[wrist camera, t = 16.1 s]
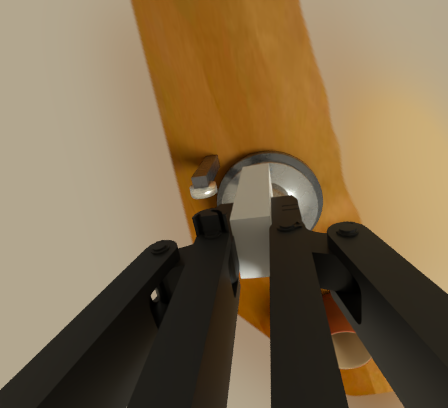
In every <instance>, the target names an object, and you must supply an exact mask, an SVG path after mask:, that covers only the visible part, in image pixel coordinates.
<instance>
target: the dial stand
mask: <svg viewBox="0 0 448 408" xmlns="http://www.w3.org/2000/svg"><path fill="white" fill-rule="evenodd" d="M219 168H220V165H219V160H218V155H214V156H207V157H205V158H204V160H203V161H202V163H201V164H200V166H199V167H198V169H197V170H196V171H195V173H194V174H193V176H192V177H191V179H192V183H193V185H191V186H190V192H191V196H192V198H194V199H203V198H208V197H211V196H213V195H215V194H216V193H217V186H216V182H215V181H214V178H215V176H216V174H217V172H218V170H219Z"/></svg>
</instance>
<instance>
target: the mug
mask: <svg viewBox="0 0 448 408" xmlns="http://www.w3.org/2000/svg"><path fill="white" fill-rule="evenodd" d="M322 298H323V302H324V306H325V310H326V315H327V319H328V323H329V327H330V331H331V336H332V340H333V344H334V348H335V352H336V357H337V361H338V365H339V369H353V368H358V367H361V366H363V365H365V364H366V363H368V362H369V361H370V360H371V359H372V357H371V355H370V354H369V352H368V351H367V349H366V348H365V346H364V345H363V343H362V342H361V340H360V339H359V337H358V336H357V334H356V333H355V331H354V330H353V328H352V326H351V325H350V323H349V322H348V320H347V319H346V317H345V316H344V314H343V313H342V311H341V310H340V308H339V307H338V305H337V304H336V302H335V301H334V299H333V298H332V296H331V293H328V294H325V295H323V296H322Z"/></svg>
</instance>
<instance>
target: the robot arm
mask: <svg viewBox="0 0 448 408" xmlns="http://www.w3.org/2000/svg"><path fill="white" fill-rule="evenodd" d="M192 219H193V223H194V227H195V231H196V235H197V237H196V239H195V242H194V244H192V245H189V246H186V247H182V248H179V249H178V247H177V243H175V242H174V241H172V240H161V241H158V242H156V243H154V244H152V245H150V246H149V247H148V248H146V249H145V250H144V251H143V252H142V253H141V254H140V255H139V256H138V257H137V258H136V259H135V260H134V261H133V262H132V263H131V264H130V265H129V266H128V267H127V268H126V269H125V270H123V271H122V273H120V274H119V275H118V276H117V277H116V278H115V279H114V280H113V281H112V282H111V283H110V284H109V285H108V286H107V287H106V288H105V289H104V290H103V291H102V292H101V293H100V294H99V295H98V296H97V297H96V298H95V299H94V300H93V301H92V302H91V303H90V304H89V305H88V306H86V307H85V309H83V310H82V311H81V312H80V313H79V314H78V315H77V316H76V317H75V318H74V319H73V320H72V321H71V322H70V323H69V324H68V325H67V326H66V327H65V328H64V329H63V330H62V331H61V332H60V333H59V334H58V335H57V336H56V337H55V338H53V339H52V340H51V341H50V342H49V343H48V344H47V345H46V346H45V347H44V348H43V349H42V350H41V351H40V352H39V353H38V354H37V355H36V356H35V357H34V358H33V359H32V360H31V361H30V362H29V363H28V364H27V365H26V366H25V367H24V368H23V369H22V370H21V371H19V373H17V375H15V376H14V377H13V379H11V380H10V381H9V382H8V383H7V384H6V385H5V386H4V387H3V388H2V389H1V390H0V408H126V407H127V408H226V407H227V399H228V390H229V382H230V373H231V364H232V356H233V347H234V338H235V329H236V321H237V312H238V304H239V295H240V282H239V277H238V276H239V270H240V275H241V279H243V278H258V277H270V343H271V344H270V346H271V347H270V348H271V349H270V350H271V408H349V407H348V403H347V399H346V394H345V390H344V386H343V382H342V378H341V373H340V369H339V365H338V361H337V357H336V352H335V348H334V344H333V340H332V336H331V331H330V327H329V323H328V319H327V315H326V310H325V306H324V302H323V298H322V294H321V289H327V290H330V293H331V296H332V298H333V299H334V301H335V302H336V304H337V305H338V307H339V308H340V310H341V311H342V313H343V314H344V316H345V317H346V319H347V320H348V322H349V323H350V325H351V326H352V328H353V330H354V331H355V333H356V334H357V336H358V337H359V339H360V340H361V342H362V343H363V345H364V346H365V348H366V349H367V351H368V352H369V354H370V355H371V357H372V358H373V360H374V361H375V363H376V365H377V366H378V368H379V369H380V371H381V372H382V374H383V375H384V377H385V378H386V380H387V381H388V383H389V384H390V386H391V387H392V389H393V390H394V392H395V393H396V395H397V396H398V398H399V400H400V401H401V402H402V404H403V406H404V407H405V408H448V294H447V293H446V292H444V291H443V290H442V289H441V288H440V287H438V286H437V285H436V284H435V283H434V282H432V281H431V280H430V279H429V278H427V277H426V276H425V275H424V274H422V273H421V272H420V271H419V270H418V269H416V268H415V267H414V266H413V265H412V264H411V263H409V262H408V261H407V260H406V259H405V258H403V257H402V256H401V255H400V254H398V253H397V252H396V251H395V250H394V249H392V248H391V247H390V246H389V245H388V244H386V243H385V242H384V241H383V240H381V239H380V238H379V237H378V236H377V235H375V234H374V233H373V232H372V231H371V230H369V229H368V228H367V227H365V226H364V225H362V224H359V223H355V222H340V223H336V224H333V225H331V226H330V227H329V228H328V230H327V233H319V232H314V231H311V230H309V229H307V228H306V226H305V224H304V223H303V221H302V217H301V213H300V209H299V205H298V200H297V198H295V197H294V196H293V195H287V196H278V197H273V193H272V185H271V177H270V170H269V163H266V164H259V165H252V166H245V167H242V171H241V175H240V179H239V184H238V188H237V192H236V196H235V200H234V203H225V204H220V205H218V206H217V207H216V208H211V209H206V210H203V211H200V212H198V213H197V214H195V215H194V216H193V217H192ZM320 288H321V289H320ZM154 290H156V293H157V297H156V298H155V299H154V300H152V298H151V294H152V292H153V291H154ZM127 405H128V406H127Z"/></svg>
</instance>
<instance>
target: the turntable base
mask: <svg viewBox="0 0 448 408" xmlns="http://www.w3.org/2000/svg"><path fill="white" fill-rule="evenodd" d="M269 160H271V161H280V162H284V163H287V164H290V165H292V166H294V167H296V168H297V169H299V170H300V171H301V172H302V173H304V174H305V175H306V177H307V178H308V179H309V180H310V182H311V184H312V185H313V188H314V190H315V193H316V196H317V200H318V213H317V217H316V220H315V223H314V225H313V227H312V228H311V230H312V229H313V228H314V226H315V225H316V224H317V222H318V220H319V218H320V215H321V212H322V206H323V196H322V190H321V187H320V184H319V182H318V180H317V178H316V176H315V174H314V173H313V171H312V170H311V169H310V168H309V167H308V166H307V165H306V164H305V163H304V162H303V161H301V160H300V159H298V158H296V157H294V156H292V155H290V154H287V153H283V152H278V151H262V152H257V153H253V154H250V155H248V156H246V157H244V158H242V159H240V160H239V161H237V162H236V163H235V164H234V165H233V166H232V167H231V168H230V169H229V170H228V171H227V173H226V174H225V176H224V177H223V179H222V182H221V184H220V187H219V190H218V195H217V206H218V205H220V204H222V197H223V194H224V191H225V188H226V186H227V184H228V182H229V181H230V180H231V178H232V177H233V176H234V175H235V174H236V173H237V172H238V171H239V170H241V169H242V167H245V166H248V165H250V164H252V163H256V162H260V161H269Z"/></svg>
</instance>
